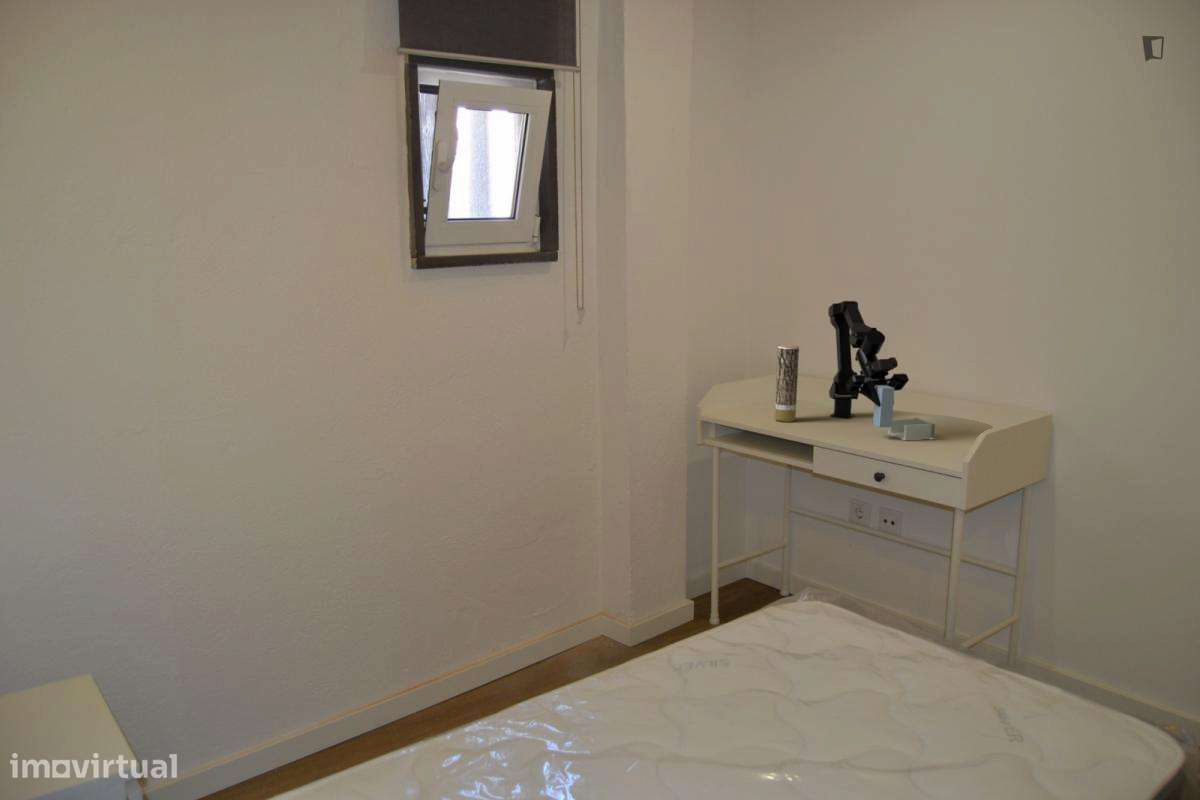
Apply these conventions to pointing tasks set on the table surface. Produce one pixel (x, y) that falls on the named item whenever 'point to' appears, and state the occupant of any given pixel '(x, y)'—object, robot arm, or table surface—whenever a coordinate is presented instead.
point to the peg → (884, 407)
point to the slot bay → (912, 429)
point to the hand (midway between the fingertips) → (886, 405)
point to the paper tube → (786, 383)
